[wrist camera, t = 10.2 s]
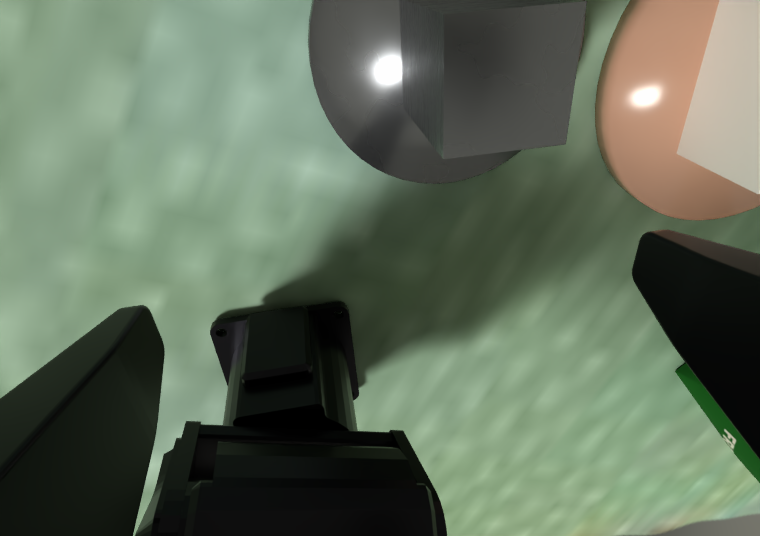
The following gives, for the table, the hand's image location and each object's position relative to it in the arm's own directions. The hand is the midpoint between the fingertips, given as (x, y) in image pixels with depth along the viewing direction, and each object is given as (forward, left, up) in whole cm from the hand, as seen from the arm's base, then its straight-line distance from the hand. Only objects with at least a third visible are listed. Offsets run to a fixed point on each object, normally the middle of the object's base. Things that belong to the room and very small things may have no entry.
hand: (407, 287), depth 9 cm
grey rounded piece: (+2, -4, -12) cm, 13 cm away
